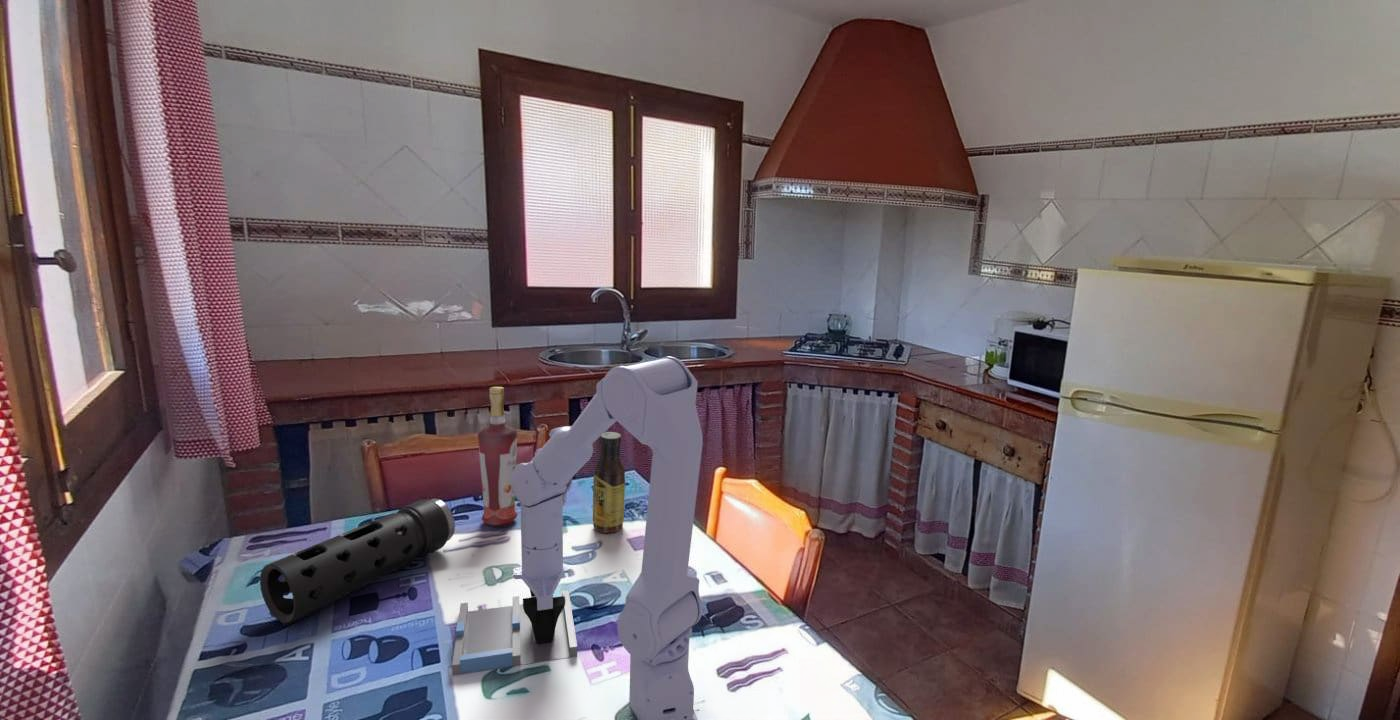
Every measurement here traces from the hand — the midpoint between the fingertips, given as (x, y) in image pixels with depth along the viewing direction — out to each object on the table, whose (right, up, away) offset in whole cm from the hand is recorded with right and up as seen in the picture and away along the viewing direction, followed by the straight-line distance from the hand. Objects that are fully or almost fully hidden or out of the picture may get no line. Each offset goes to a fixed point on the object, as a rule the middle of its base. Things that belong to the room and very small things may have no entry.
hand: (543, 625), depth 89 cm
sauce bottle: (+4, +5, +34) cm, 35 cm away
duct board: (-4, -2, -1) cm, 4 cm away
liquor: (-18, +6, +34) cm, 39 cm away
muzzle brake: (-32, +2, +12) cm, 34 cm away
